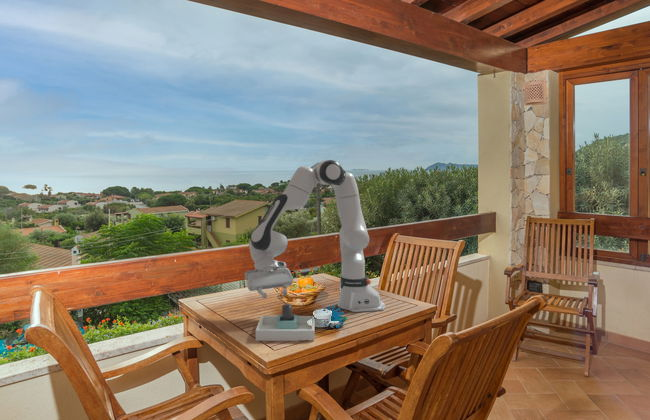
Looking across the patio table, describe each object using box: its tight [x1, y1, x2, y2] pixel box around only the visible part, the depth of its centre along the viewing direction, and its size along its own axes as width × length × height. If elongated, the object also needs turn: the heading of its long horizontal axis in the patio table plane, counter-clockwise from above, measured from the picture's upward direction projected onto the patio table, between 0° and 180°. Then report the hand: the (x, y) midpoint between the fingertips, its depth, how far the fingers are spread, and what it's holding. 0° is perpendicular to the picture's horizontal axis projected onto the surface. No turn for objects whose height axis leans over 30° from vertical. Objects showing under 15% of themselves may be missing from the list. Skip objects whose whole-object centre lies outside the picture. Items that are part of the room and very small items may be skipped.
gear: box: [322, 305, 348, 329], centre depth 171 cm, size 11×6×10 cm
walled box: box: [255, 314, 316, 342], centre depth 162 cm, size 22×16×5 cm
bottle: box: [281, 302, 293, 321], centre depth 164 cm, size 4×4×10 cm
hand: (275, 296), depth 173 cm, fingers open, 8 cm apart
